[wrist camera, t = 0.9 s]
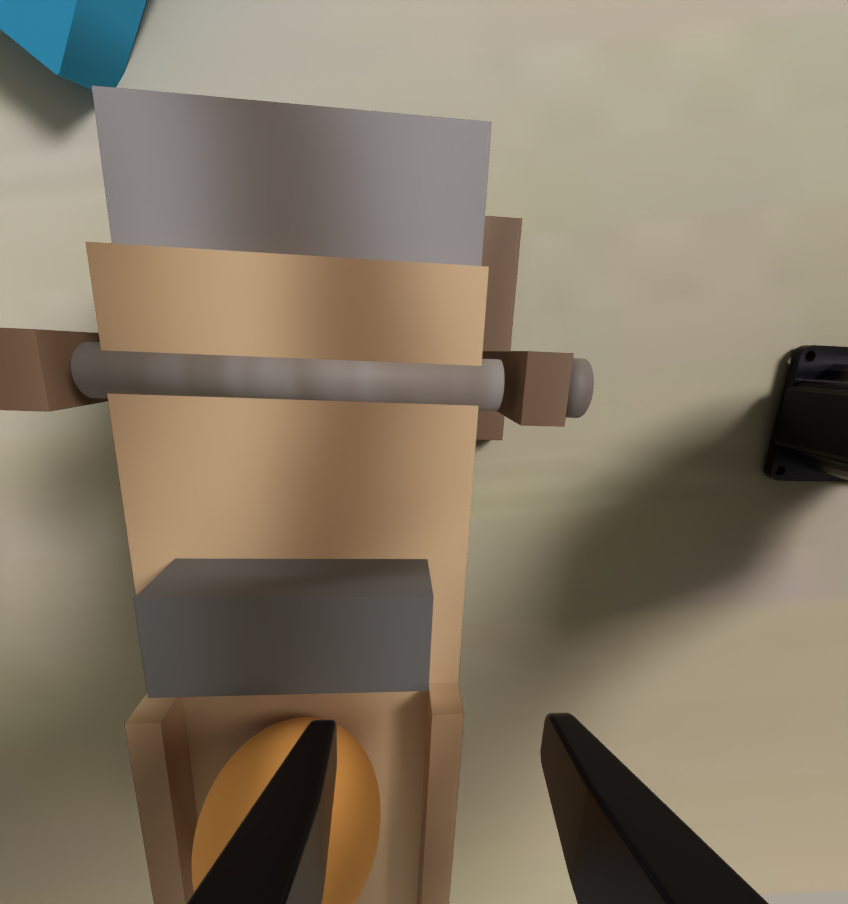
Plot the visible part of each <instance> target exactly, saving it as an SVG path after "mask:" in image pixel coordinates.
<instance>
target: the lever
mask: <svg viewBox="0 0 848 904" xmlns="http://www.w3.org/2000/svg"><path fill="white" fill-rule="evenodd" d="M146 1H147V0H0V30H2V31H3V32H4V33H5V34H7V35H8V36H9V37H10V38H11V39H13V40H14V41H15V42H16V43H18V44H19V45H20V46H21V47H23V48H24V49H25V50H26V51H27V52H29V53H30V54H31V55H32V56H34V57H35V58H36V59H37V60H39V61H40V62H41V63H42V64H43V65H45V66H46V67H47V68H48V69H50V70H51V71H52V72H53V73H55V74H56V75H58V76H60V77H63V78H65V79H67V80H70V81H72V82H75V83H77V84H79V85H82V86H84V87H86V88H89V89H91V90H92V86H103V87H114V88H116V86H117V85H118V83H119V81H120V80H121V78H122V76H123V74H124V72H125V69H126V66H127V62H128V59H129V56H130V53H131V49H132V46H133V43H134V40H135V36H136V33H137V30H138V27H139V23H140V20H141V17H142V14H143V10H144V7H145V4H146Z"/></svg>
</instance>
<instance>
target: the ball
mask: <svg viewBox="0 0 848 904" xmlns="http://www.w3.org/2000/svg"><path fill="white" fill-rule="evenodd" d="M313 720H325V719H321V718H315V717H296V718H291V719H287V720H284V721H281V722H278V723H276V724H273V725H271V726H269V727H267V728H265V729H264V730H262V731H260V732H259V733H257V734H256V735H254V736H253V737H252V738H250V739H249V740H248V741H247V742H246V743H245V744H244V745H242V746H241V747H240V748H239V749H238V750H237V751H236V752H235V753H234V755H233V756H232V757H231V758H230V759H229V761H228V762H227V763H226V765H225V766H224V767H223V768H222V770H221V772H220V773H219V775H218V776H217V778H216V779H215V781H214V783H213V785H212V787H211V789H210V791H209V793H208V795H207V797H206V799H205V802H204V805H203V807H202V810H201V813H200V816H199V819H198V822H197V826H196V831H195V835H194V841H193V849H192V859H191V860H192V884H193V889H194V892H195V890H196V889H197V887H198V886H199V884H200V883H201V881H202V880H203V879H204V877H205V876H206V874H207V873H208V871H209V870H210V868H211V867H212V865H213V864H214V862H215V861H216V859H217V858H218V857H219V855H220V854H221V852H222V851H223V849H224V848H225V846H226V845H227V843H228V842H229V840H230V839H231V837H232V836H233V835H234V833H235V832H236V830H237V829H238V827H239V826H240V824H241V823H242V821H243V820H244V818H245V817H246V815H247V814H248V813H249V811H250V810H251V808H252V807H253V805H254V804H255V802H256V801H257V799H258V798H259V796H260V795H261V793H262V792H263V791H264V789H265V788H266V786H267V785H268V783H269V782H270V780H271V779H272V777H273V776H274V774H275V773H276V771H277V770H278V769H279V767H280V766H281V764H282V763H283V761H284V760H285V758H286V757H287V755H288V754H289V752H290V751H291V749H292V748H293V746H294V745H295V744H296V742H297V741H298V739H299V738H300V736H301V735H302V733H303V732H304V730H305V729H306V727H307V726H308V725H309V723H310V722H312V721H313ZM336 725H337V724H336ZM380 823H381V804H380V794H379V787H378V783H377V779H376V775H375V772H374V769H373V766H372V764H371V762H370V760H369V758H368V756H367V754H366V752H365V751H364V749H363V747H362V746H361V745H360V744H359V742H358V741H357V740H356V739H355V738H354V736H352V735H351V734H350V733H349V732H348V731H346V730H345V729H344V728H342V727H341V726H339V725H337V771H336V781H335V791H334V800H333V810H332V820H331V829H330V839H329V849H328V858H327V868H326V877H325V885H324V893H323V899H322V904H355V902H356V900H357V899H358V897H359V895H360V894H361V891H362V889H363V887H364V885H365V883H366V881H367V878H368V876H369V874H370V871H371V868H372V865H373V862H374V858H375V855H376V851H377V846H378V841H379V834H380Z"/></svg>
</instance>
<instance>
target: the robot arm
mask: <svg viewBox="0 0 848 904" xmlns="http://www.w3.org/2000/svg"><path fill="white" fill-rule="evenodd" d="M806 354H807V358H806V360H805V356H806ZM777 468H778V469H777ZM776 469H777V471H776ZM764 474H765V475H766V476H767V477H769V478H772V479H774V480H786V481H838V482H848V347H836V346H816V345H805V346H800V347H798V348H797V349H796V350H795V351H794V353H793V355H792V359H791V363H790V367H789V371H788V375H787V379H786V382H785V386H784V390H783V394H782V398H781V402H780V406H779V410H778V414H777V418H776V422H775V426H774V430H773V434H772V438H771V442H770V446H769V450H768V454H767V458H766V462H765V466H764ZM541 763H542V768H543V772H544V776H545V780H546V784H547V788H548V792H549V797H550V801H551V805H552V809H553V813H554V817H555V821H556V825H557V829H558V833H559V837H560V841H561V845H562V849H563V853H564V857H565V861H566V865H567V869H568V873H569V877H570V880H571V884H572V887H573V890H574V893H575V896H576V900H577V903H578V904H768V903H767V902H766V901H765V900H764V899H763V898H762V897H761V896H760V895H759V894H758V893H757V892H756V891H755V890H754V889H753V888H752V887H751V886H750V885H749V884H748V883H747V882H746V881H745V880H744V879H742V878H741V877H740V876H739V875H738V874H737V873H736V872H735V871H734V870H733V869H732V868H731V867H730V866H729V865H728V864H727V863H726V862H725V861H724V860H723V859H722V858H721V857H720V856H719V855H718V854H716V853H715V852H714V851H713V850H712V849H711V848H710V847H709V846H708V845H707V844H706V843H705V842H704V841H703V840H702V839H701V838H700V837H699V836H698V835H697V834H696V833H695V832H694V831H693V830H692V829H690V828H689V827H688V826H687V825H686V824H685V823H684V822H683V821H682V820H681V819H680V818H679V817H678V816H677V815H676V814H675V813H674V812H673V811H672V810H671V809H670V808H669V807H668V806H667V805H666V804H664V803H663V802H662V801H661V800H660V799H659V798H658V797H657V796H656V795H655V794H654V793H653V792H652V791H651V790H650V789H649V788H648V787H647V786H646V785H645V784H644V783H643V782H642V781H641V780H640V779H638V778H637V777H636V776H635V775H634V774H633V773H632V772H631V771H630V770H629V769H628V768H627V767H626V766H625V765H624V764H623V763H622V762H621V761H620V760H619V759H618V758H617V757H616V756H615V755H614V754H612V753H611V752H610V751H609V750H608V749H607V748H606V747H605V746H604V745H603V744H602V743H601V742H600V741H599V740H598V739H597V738H596V737H595V736H594V735H593V734H592V733H591V732H590V731H589V730H588V729H586V728H585V727H584V726H583V725H582V724H581V723H580V722H579V721H578V720H577V719H576V718H575V717H574V716H573V715H571V714H569V713H549V714H548V715H547V716H546V718H545V722H544V729H543V736H542V743H541ZM336 771H337V725H336V722H335V721H334V720H313V721H312V722H310V723H309V725H308V726H307V727H306V729H305V730H304V732H303V733H302V735H301V736H300V738H299V739H298V741H297V742H296V744H295V745H294V746H293V748H292V749H291V751H290V752H289V754H288V755H287V757H286V758H285V760H284V761H283V763H282V764H281V766H280V767H279V769H278V770H277V771H276V773H275V774H274V776H273V777H272V779H271V780H270V782H269V783H268V785H267V786H266V788H265V789H264V791H263V792H262V793H261V795H260V796H259V798H258V799H257V801H256V802H255V804H254V805H253V807H252V808H251V810H250V811H249V813H248V814H247V815H246V817H245V818H244V820H243V821H242V823H241V824H240V826H239V827H238V829H237V830H236V832H235V833H234V835H233V836H232V837H231V839H230V840H229V842H228V843H227V845H226V846H225V848H224V849H223V851H222V852H221V854H220V855H219V857H218V858H217V859H216V861H215V862H214V864H213V865H212V867H211V868H210V870H209V871H208V873H207V874H206V876H205V877H204V879H203V880H202V881H201V883H200V884H199V886H198V887H197V889H196V890H195V892H194V893H193V895H192V896H191V898H190V899H189V901H188V902H187V904H322V899H323V893H324V885H325V877H326V868H327V858H328V849H329V839H330V829H331V820H332V810H333V800H334V791H335V781H336Z"/></svg>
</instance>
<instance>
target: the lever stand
mask: <svg viewBox="0 0 848 904" xmlns="http://www.w3.org/2000/svg"><path fill="white" fill-rule="evenodd" d="M521 226H522V218H509V217H495V216H485V223H484V238H483V252H482V266H487V267H489V272H488V285H487V299H486V312H485V326H484V339H483V353H482V359H500V360H501V361H502V363H503V367H504V393H503V398H502V402H501V405H500V408H499V409H498V410H497V411H481V410H478V420H477V433H476V440H502V437H503V426H504V416H506V417H507V418H509V419H511V420H513V421H514V422H516V423H518V424H519V425H526V426H560V427H564V425H565V417H569V418H579V417H581V416H583V415H584V414H585V412H586V411H587V409H588V407H589V405H590V402H591V399H592V394H593V385H594V379H593V371H592V368H591V365H590V363H589V362H588V361H587V360H586V359H580V358H573V354H574V353H554V352H531V351H510V348H511V337H512V326H513V314H514V303H515V292H516V281H517V270H518V259H519V248H520V237H521ZM84 342H100V339H99V333H87V332H70V331H54V330H37V329H16V328H0V410H17V411H55V410H60V409H66V408H72V407H77V406H83V405H89V404H95V403H100V402H106V401H108V398H91V397H88V396H86V395H84V394H83V393H82V392H81V391H80V390H79V389H78V387H77V386H76V384H75V382H74V380H73V376H72V372H71V359H72V355H73V352H74V350H75V349H76V348H77V346H78V345H80V344H81V343H84Z"/></svg>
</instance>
